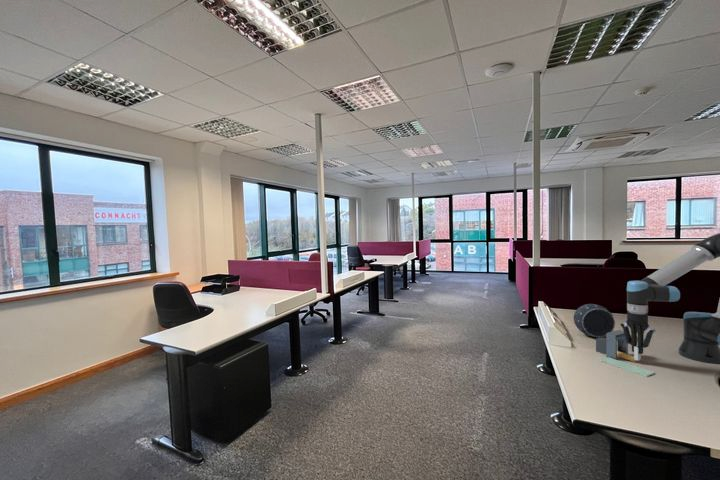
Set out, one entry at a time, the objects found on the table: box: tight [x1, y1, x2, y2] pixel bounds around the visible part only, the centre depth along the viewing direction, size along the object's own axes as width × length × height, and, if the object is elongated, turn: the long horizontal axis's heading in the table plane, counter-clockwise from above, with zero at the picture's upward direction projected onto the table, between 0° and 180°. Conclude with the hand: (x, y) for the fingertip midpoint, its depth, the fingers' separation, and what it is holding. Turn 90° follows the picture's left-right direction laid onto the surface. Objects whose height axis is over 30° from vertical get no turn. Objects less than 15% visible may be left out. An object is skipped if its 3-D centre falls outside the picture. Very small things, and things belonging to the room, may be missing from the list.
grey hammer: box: [595, 337, 637, 363], centre depth 152 cm, size 5×16×7 cm, turn 24°
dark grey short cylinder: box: [573, 303, 616, 339], centre depth 181 cm, size 11×20×20 cm, turn 78°
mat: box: [599, 357, 656, 378], centre depth 140 cm, size 7×18×1 cm, turn 23°
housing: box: [605, 329, 629, 360], centre depth 152 cm, size 12×4×13 cm, turn 113°
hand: (637, 359), depth 144 cm, fingers closed
